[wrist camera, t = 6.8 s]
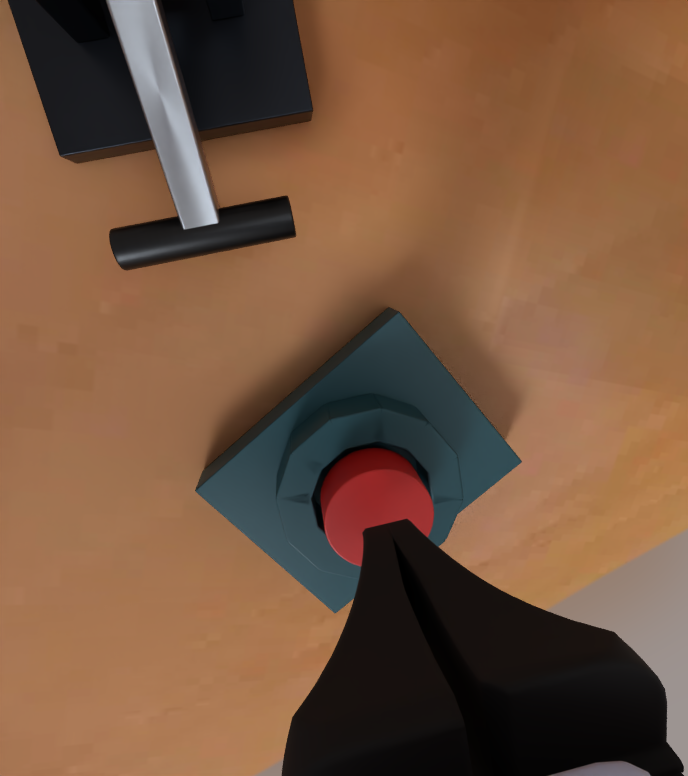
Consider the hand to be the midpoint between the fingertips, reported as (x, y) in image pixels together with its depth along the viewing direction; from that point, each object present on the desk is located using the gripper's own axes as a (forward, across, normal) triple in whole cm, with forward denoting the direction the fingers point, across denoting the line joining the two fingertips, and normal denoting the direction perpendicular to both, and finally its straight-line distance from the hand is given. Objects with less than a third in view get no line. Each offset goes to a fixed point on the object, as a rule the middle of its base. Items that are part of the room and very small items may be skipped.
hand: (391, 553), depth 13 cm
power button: (+4, 0, 0) cm, 4 cm away
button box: (+7, 0, 0) cm, 7 cm away
